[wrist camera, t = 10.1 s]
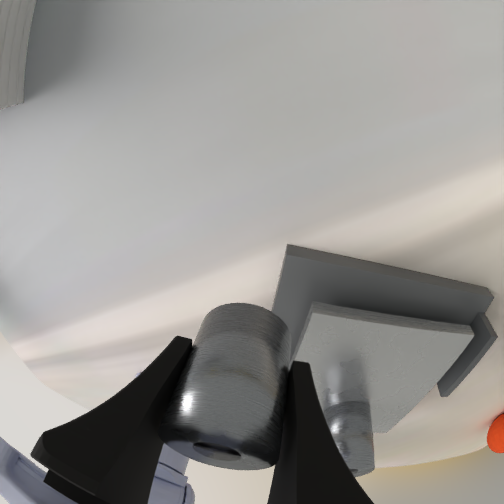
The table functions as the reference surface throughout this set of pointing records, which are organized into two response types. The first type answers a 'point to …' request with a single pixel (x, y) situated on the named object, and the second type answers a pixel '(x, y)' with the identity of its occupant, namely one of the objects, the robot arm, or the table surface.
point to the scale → (383, 299)
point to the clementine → (496, 435)
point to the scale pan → (377, 358)
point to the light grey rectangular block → (14, 49)
